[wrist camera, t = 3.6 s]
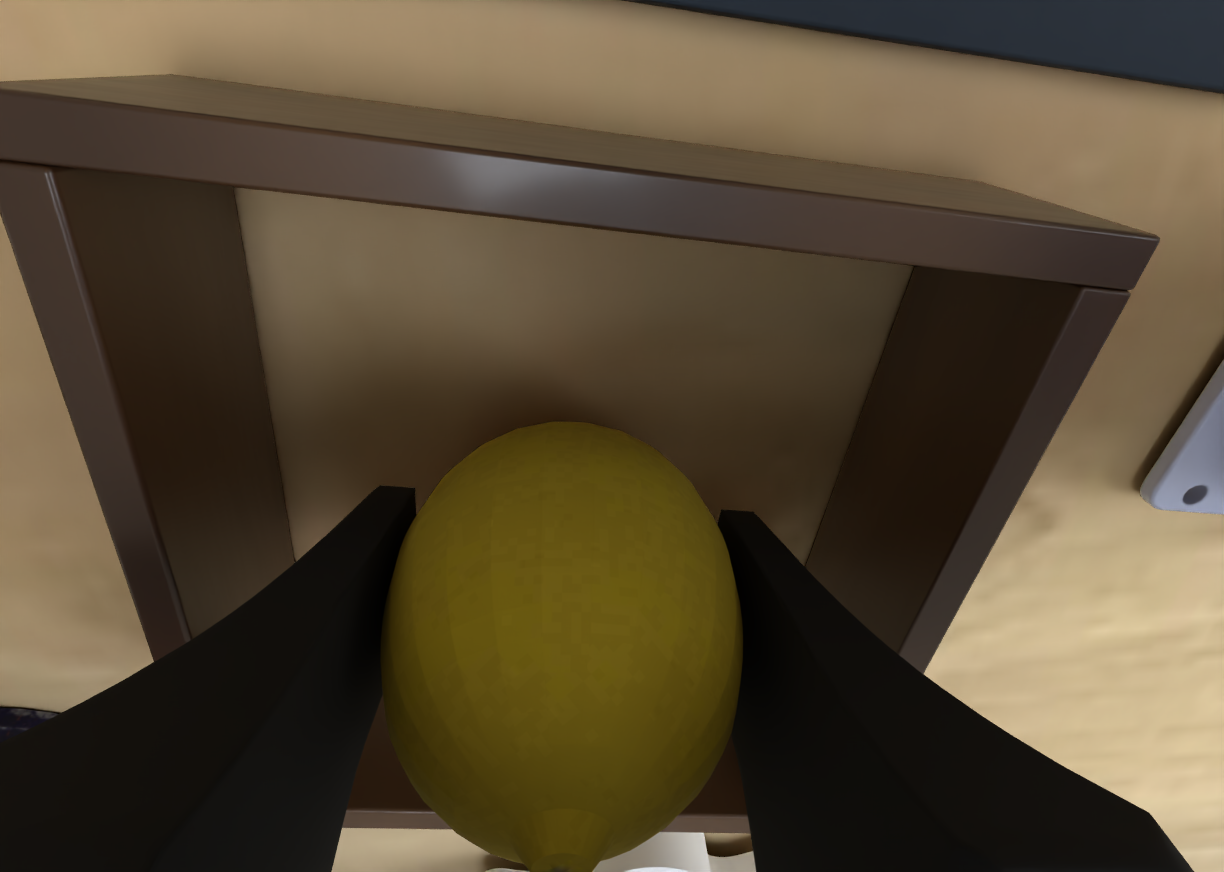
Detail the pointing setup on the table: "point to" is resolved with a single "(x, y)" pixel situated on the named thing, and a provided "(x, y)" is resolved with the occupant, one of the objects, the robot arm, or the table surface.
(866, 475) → the wooden frame
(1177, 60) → the mat
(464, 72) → the table surface
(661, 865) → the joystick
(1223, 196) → the table surface
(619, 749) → the lemon
